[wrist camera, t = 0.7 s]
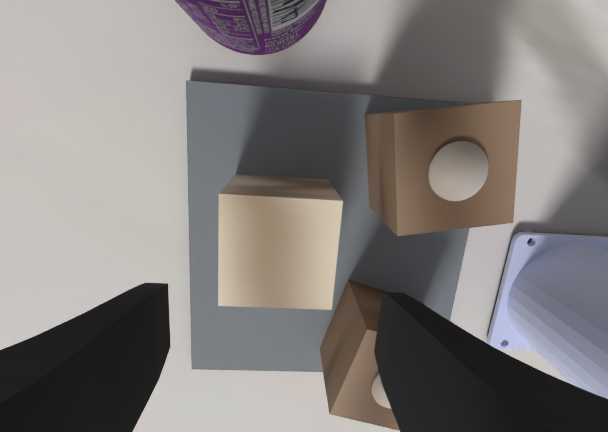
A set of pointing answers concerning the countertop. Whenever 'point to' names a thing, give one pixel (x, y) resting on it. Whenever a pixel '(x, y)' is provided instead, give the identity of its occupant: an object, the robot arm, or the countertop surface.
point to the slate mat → (299, 164)
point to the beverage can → (254, 22)
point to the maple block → (278, 242)
